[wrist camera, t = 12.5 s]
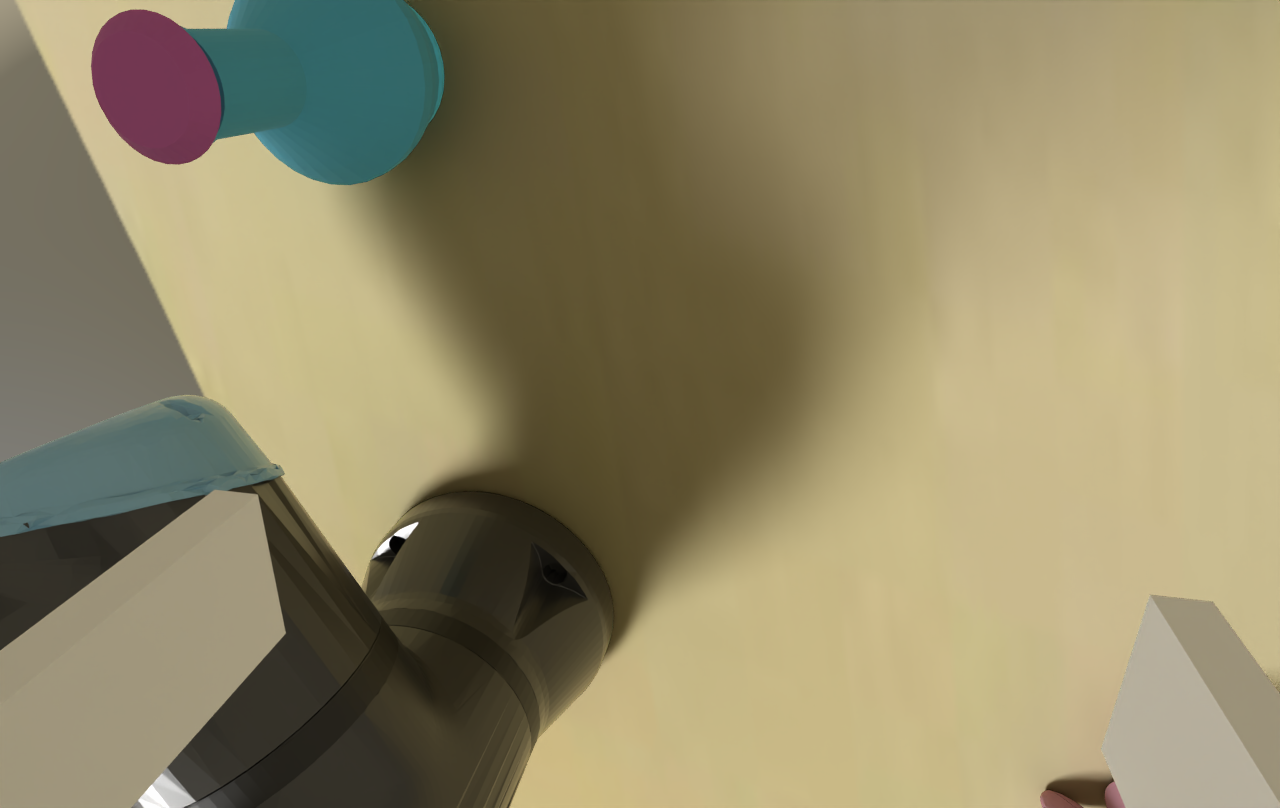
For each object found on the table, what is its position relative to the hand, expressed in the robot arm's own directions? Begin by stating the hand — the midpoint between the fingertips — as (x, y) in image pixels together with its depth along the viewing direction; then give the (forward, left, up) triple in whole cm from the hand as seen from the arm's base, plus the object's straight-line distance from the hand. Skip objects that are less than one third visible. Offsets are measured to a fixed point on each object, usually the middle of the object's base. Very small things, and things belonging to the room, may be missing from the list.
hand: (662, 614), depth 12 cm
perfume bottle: (-20, +5, -29) cm, 35 cm away
